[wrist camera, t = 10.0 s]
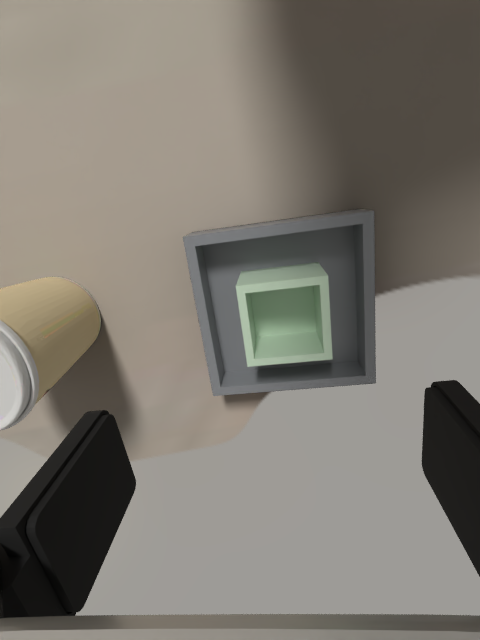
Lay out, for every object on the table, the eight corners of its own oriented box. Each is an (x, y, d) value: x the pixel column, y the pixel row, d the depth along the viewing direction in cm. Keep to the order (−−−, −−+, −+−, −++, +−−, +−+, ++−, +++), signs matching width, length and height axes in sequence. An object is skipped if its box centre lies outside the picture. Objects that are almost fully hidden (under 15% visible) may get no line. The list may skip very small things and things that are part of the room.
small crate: (241, 271, 29) (235, 286, 24) (318, 262, 28) (328, 275, 24) (250, 340, 31) (247, 366, 27) (322, 334, 30) (332, 359, 26)
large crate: (192, 232, 29) (182, 236, 26) (361, 208, 27) (374, 210, 24) (218, 376, 34) (213, 395, 30) (364, 363, 32) (375, 383, 29)
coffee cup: (21, 352, 35) (-97, 428, 23) (9, 261, 31) (-136, 299, 20) (111, 364, 34) (35, 447, 23) (108, 273, 31) (17, 318, 20)
